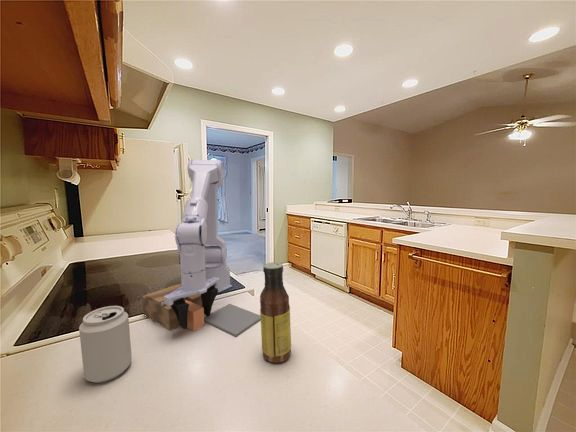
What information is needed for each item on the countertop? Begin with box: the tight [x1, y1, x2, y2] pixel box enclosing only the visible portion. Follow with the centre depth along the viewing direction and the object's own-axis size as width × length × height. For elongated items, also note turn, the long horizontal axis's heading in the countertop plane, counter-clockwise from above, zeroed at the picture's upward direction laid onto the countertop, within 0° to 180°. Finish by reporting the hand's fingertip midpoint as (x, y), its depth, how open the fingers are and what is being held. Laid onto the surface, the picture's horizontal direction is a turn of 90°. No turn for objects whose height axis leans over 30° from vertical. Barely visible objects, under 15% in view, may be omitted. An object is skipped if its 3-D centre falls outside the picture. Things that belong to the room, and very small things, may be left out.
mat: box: [204, 303, 261, 338], centre depth 66 cm, size 10×13×1 cm
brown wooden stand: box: [142, 283, 202, 331], centre depth 68 cm, size 13×10×6 cm
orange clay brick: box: [184, 299, 205, 331], centre depth 65 cm, size 10×3×5 cm, turn 56°
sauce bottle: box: [259, 261, 292, 364], centre depth 51 cm, size 7×6×20 cm
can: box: [78, 305, 133, 384], centre depth 47 cm, size 8×8×12 cm
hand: (195, 320), depth 63 cm, fingers open, 6 cm apart
